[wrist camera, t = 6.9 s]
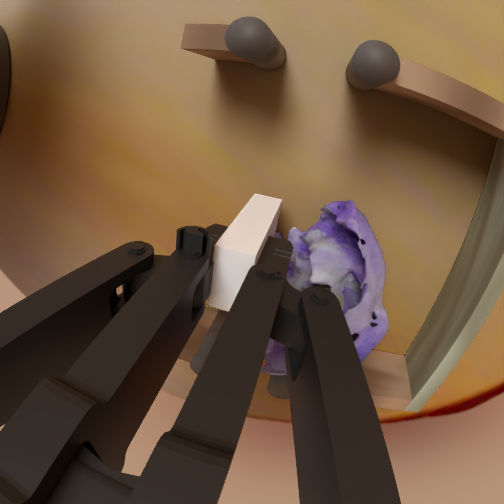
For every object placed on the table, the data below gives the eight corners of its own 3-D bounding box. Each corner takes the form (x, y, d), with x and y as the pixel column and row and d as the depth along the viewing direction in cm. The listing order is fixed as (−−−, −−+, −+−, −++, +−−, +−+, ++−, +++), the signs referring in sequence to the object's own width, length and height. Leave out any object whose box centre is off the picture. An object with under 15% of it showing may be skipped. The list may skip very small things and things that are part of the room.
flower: (476, 349, 12) (311, 368, 9) (369, 384, 19) (225, 393, 15) (428, 197, 16) (281, 144, 13) (349, 263, 23) (222, 243, 20)
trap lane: (188, 317, 24) (160, 361, 19) (218, 35, 14) (180, 15, 10) (408, 370, 21) (416, 421, 17) (516, 123, 12) (565, 135, 8)
